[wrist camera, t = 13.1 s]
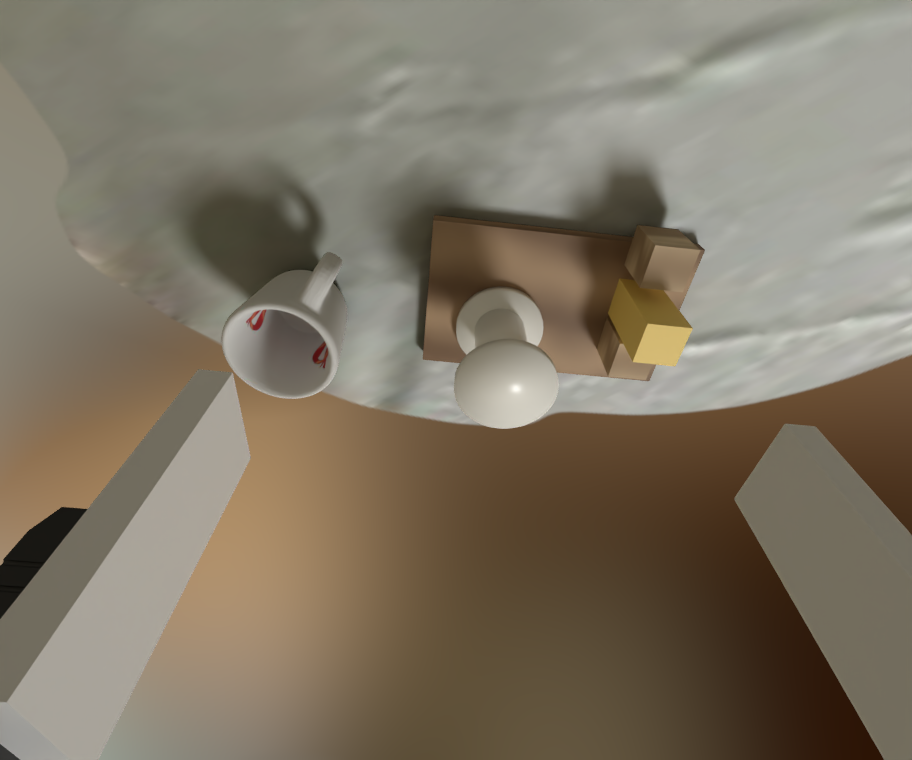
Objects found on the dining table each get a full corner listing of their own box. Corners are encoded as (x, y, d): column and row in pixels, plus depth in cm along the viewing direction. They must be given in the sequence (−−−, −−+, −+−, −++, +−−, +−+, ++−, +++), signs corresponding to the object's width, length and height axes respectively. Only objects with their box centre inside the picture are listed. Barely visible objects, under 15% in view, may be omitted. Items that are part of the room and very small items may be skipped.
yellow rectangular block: (619, 278, 36) (647, 323, 31) (657, 282, 37) (692, 328, 31) (607, 313, 38) (632, 362, 33) (644, 317, 38) (675, 366, 33)
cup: (298, 204, 35) (259, 244, 28) (392, 264, 37) (377, 312, 31) (246, 313, 40) (204, 366, 34) (332, 358, 43) (308, 416, 36)
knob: (461, 282, 37) (460, 340, 30) (550, 291, 37) (570, 350, 30) (452, 357, 41) (449, 423, 34) (532, 365, 41) (546, 432, 34)
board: (435, 197, 34) (431, 220, 30) (705, 227, 35) (737, 254, 31) (423, 351, 42) (419, 387, 38) (645, 373, 43) (664, 410, 39)
